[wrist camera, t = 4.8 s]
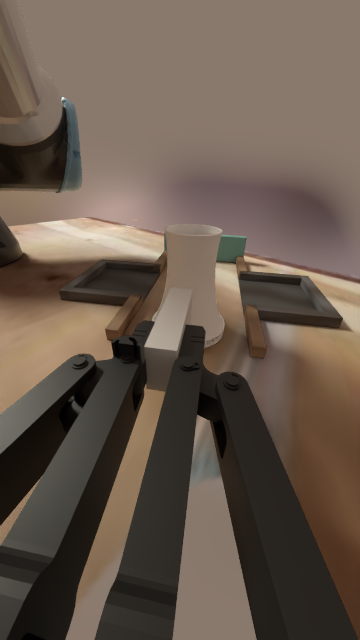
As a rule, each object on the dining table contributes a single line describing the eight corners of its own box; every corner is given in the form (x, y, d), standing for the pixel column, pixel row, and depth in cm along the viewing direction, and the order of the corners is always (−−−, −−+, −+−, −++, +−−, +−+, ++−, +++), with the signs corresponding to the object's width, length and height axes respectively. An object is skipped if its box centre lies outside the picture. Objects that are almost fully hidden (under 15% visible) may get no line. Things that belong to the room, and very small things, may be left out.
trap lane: (371, 371, 20) (378, 360, 19) (22, 329, 24) (18, 318, 23) (292, 266, 43) (294, 260, 42) (119, 253, 46) (119, 247, 46)
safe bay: (242, 262, 44) (246, 237, 41) (164, 256, 45) (164, 232, 43) (241, 260, 45) (246, 236, 42) (165, 255, 46) (165, 231, 44)
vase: (207, 360, 21) (221, 245, 15) (137, 335, 23) (129, 231, 18) (232, 321, 26) (248, 227, 21) (173, 304, 29) (175, 218, 24)
